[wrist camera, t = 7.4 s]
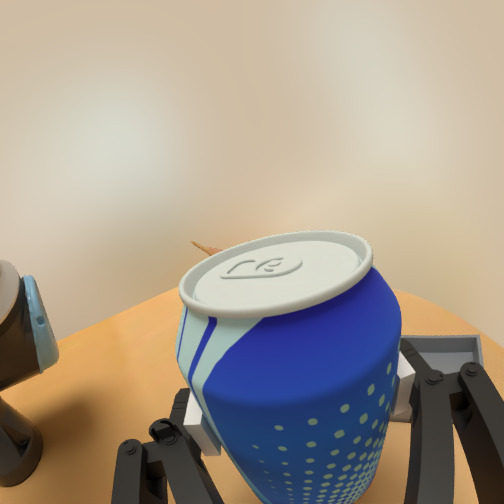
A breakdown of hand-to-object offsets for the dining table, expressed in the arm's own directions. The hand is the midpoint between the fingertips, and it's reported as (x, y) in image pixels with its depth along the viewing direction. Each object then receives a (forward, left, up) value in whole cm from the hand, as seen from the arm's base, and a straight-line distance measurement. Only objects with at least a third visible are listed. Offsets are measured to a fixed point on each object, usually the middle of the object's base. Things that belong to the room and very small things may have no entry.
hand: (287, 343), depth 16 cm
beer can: (+3, -4, -9) cm, 10 cm away
